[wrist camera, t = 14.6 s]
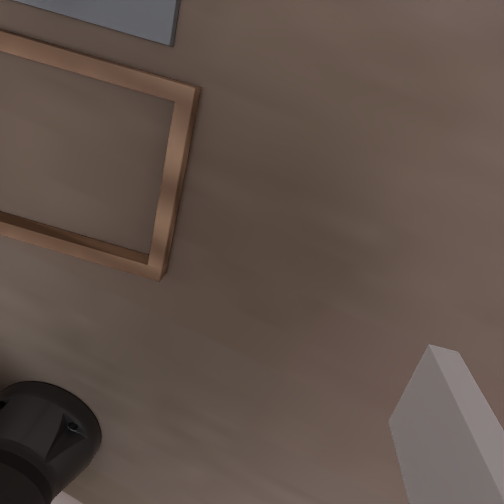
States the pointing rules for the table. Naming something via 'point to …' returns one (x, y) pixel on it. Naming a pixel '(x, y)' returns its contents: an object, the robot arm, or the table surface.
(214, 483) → the table surface
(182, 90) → the frame
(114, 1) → the rubber mat
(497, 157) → the table surface
